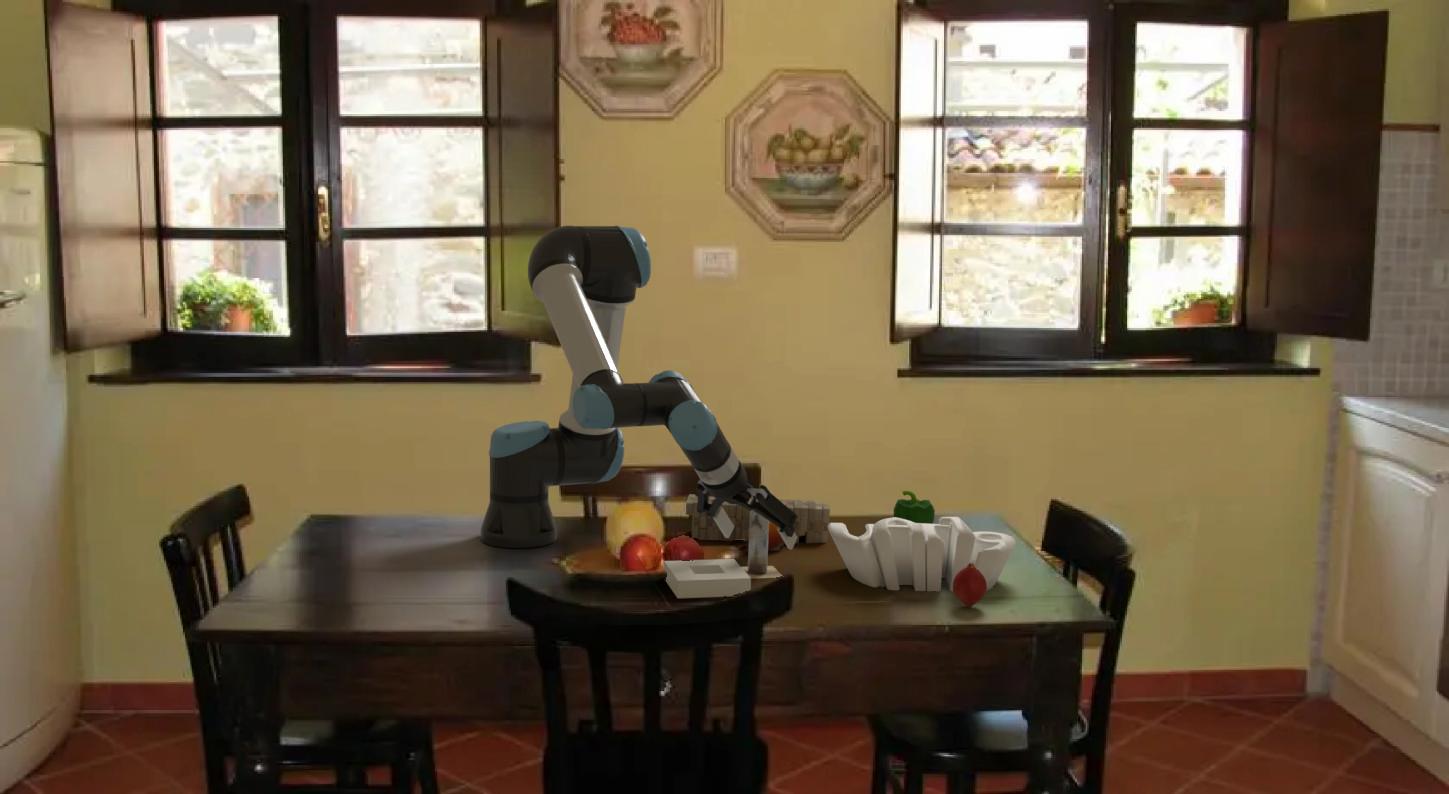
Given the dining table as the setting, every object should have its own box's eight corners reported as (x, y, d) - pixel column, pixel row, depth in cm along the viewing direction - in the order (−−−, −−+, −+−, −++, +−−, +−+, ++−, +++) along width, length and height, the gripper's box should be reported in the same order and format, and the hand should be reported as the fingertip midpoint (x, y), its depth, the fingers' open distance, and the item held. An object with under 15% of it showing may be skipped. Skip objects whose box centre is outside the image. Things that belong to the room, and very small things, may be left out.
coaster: (731, 569, 261) (731, 567, 261) (772, 567, 263) (772, 565, 263) (741, 580, 253) (741, 578, 253) (783, 579, 255) (783, 577, 255)
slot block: (663, 579, 253) (664, 561, 252) (733, 577, 256) (733, 558, 255) (677, 600, 240) (678, 580, 240) (750, 597, 243) (750, 578, 243)
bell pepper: (939, 537, 291) (942, 490, 289) (923, 545, 284) (925, 497, 282) (903, 531, 295) (905, 485, 294) (886, 538, 288) (888, 491, 287)
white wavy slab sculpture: (825, 587, 251) (828, 531, 249) (825, 564, 267) (827, 510, 266) (1021, 597, 249) (1025, 539, 247) (1009, 572, 265) (1012, 518, 263)
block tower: (825, 540, 290) (686, 530, 291) (828, 501, 289) (688, 491, 290) (827, 549, 282) (684, 539, 283) (830, 509, 281) (686, 499, 282)
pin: (745, 569, 259) (748, 501, 258) (764, 569, 260) (767, 501, 258) (750, 575, 256) (752, 506, 254) (769, 574, 257) (771, 505, 255)
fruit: (792, 549, 272) (773, 513, 272) (758, 566, 274) (738, 531, 273) (798, 539, 280) (779, 504, 279) (765, 556, 281) (746, 522, 281)
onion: (948, 602, 244) (950, 557, 243) (980, 602, 244) (982, 558, 243) (956, 612, 238) (958, 566, 237) (989, 612, 239) (991, 566, 238)
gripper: (652, 477, 247) (696, 544, 261) (773, 496, 234) (812, 565, 248) (669, 444, 250) (712, 511, 265) (790, 461, 237) (827, 531, 252)
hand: (761, 537), depth 257 cm, fingers open, 13 cm apart
